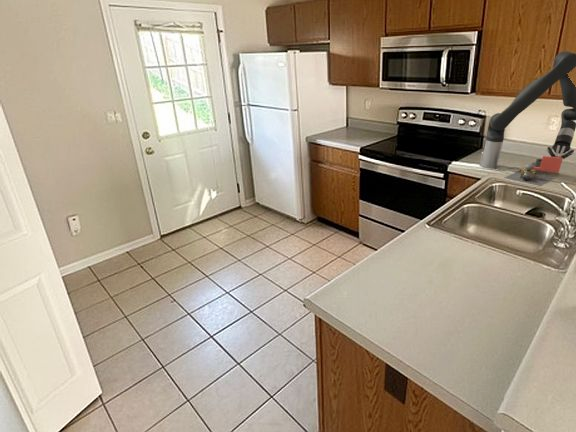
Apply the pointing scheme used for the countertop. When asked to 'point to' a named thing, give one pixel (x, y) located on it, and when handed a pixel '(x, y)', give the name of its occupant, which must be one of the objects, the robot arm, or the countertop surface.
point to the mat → (536, 180)
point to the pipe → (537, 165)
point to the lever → (547, 164)
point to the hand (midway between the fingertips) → (555, 163)
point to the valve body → (527, 174)
